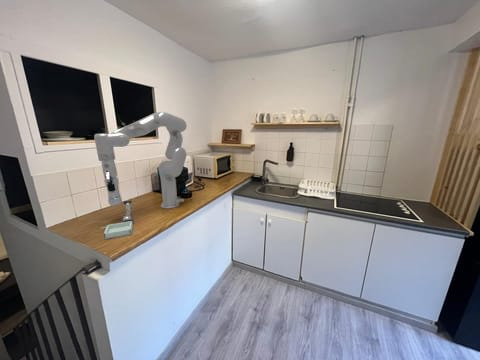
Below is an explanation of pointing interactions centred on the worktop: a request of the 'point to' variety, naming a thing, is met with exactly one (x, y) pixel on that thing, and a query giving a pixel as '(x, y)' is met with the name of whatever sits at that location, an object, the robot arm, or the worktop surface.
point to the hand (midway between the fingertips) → (112, 188)
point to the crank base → (123, 221)
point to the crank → (128, 209)
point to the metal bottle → (114, 193)
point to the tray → (118, 230)
